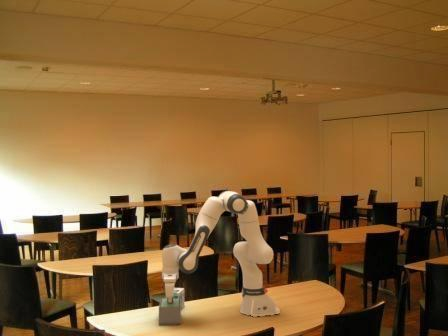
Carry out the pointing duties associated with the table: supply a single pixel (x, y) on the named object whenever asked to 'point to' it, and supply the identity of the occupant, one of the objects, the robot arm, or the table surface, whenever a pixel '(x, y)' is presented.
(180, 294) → the light bulb box
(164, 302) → the lid
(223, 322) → the table surface
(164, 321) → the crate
